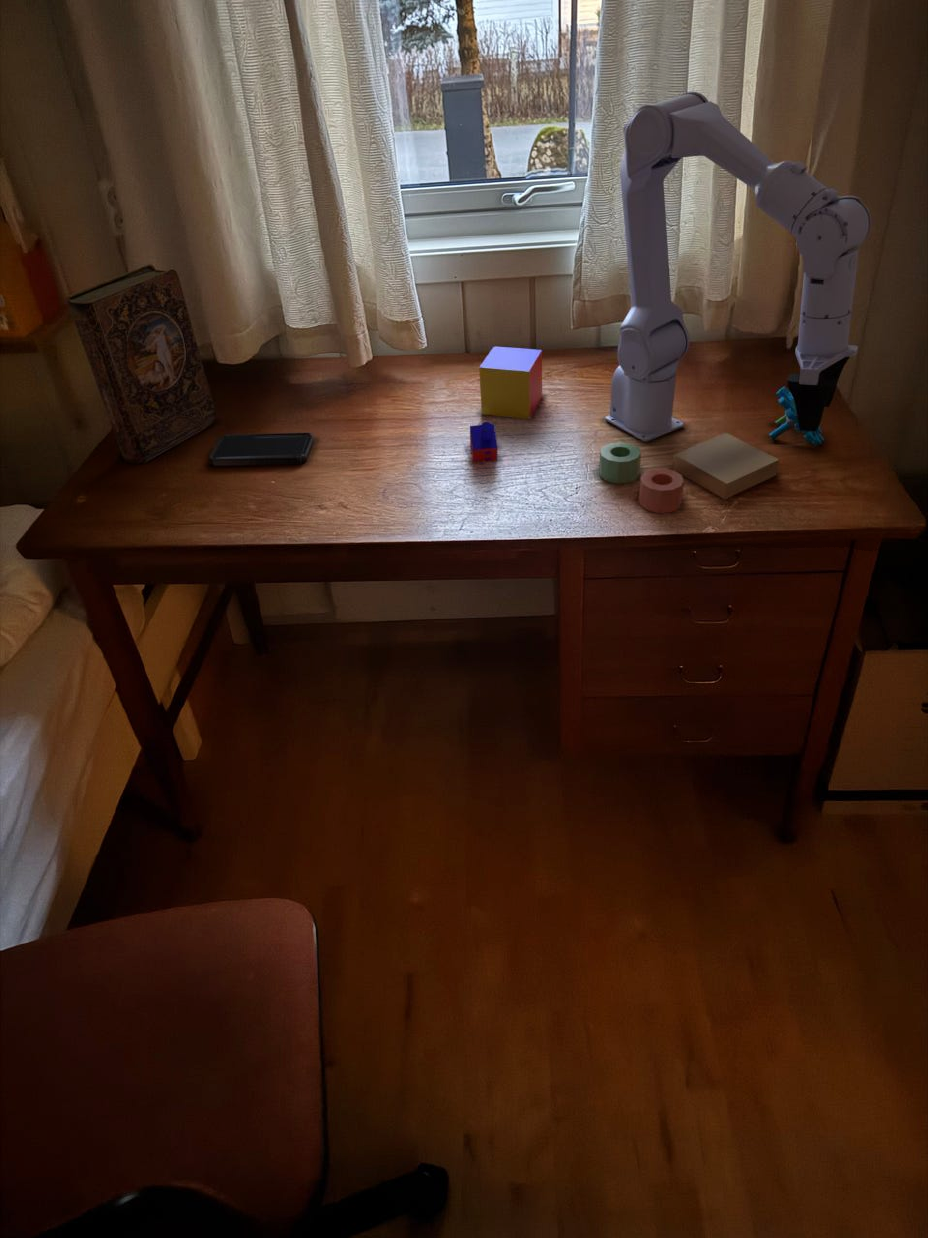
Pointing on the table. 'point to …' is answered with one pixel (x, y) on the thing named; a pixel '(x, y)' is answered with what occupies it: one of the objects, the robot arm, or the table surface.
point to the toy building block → (483, 442)
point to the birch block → (725, 465)
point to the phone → (262, 449)
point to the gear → (793, 419)
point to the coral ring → (661, 490)
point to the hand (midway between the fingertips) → (815, 417)
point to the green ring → (619, 462)
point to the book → (144, 360)
